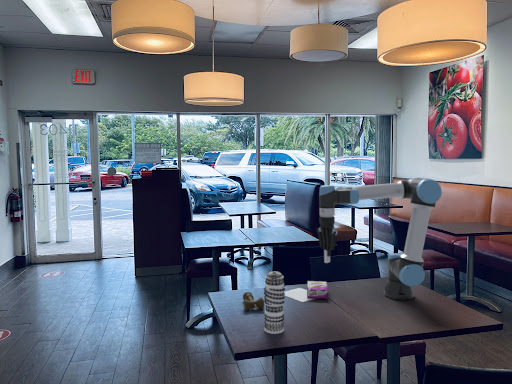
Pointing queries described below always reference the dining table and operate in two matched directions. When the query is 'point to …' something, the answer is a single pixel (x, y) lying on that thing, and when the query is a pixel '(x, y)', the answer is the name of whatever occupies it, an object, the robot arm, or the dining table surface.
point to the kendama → (252, 302)
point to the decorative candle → (274, 303)
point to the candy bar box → (317, 290)
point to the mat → (298, 295)
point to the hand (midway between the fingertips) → (327, 262)
